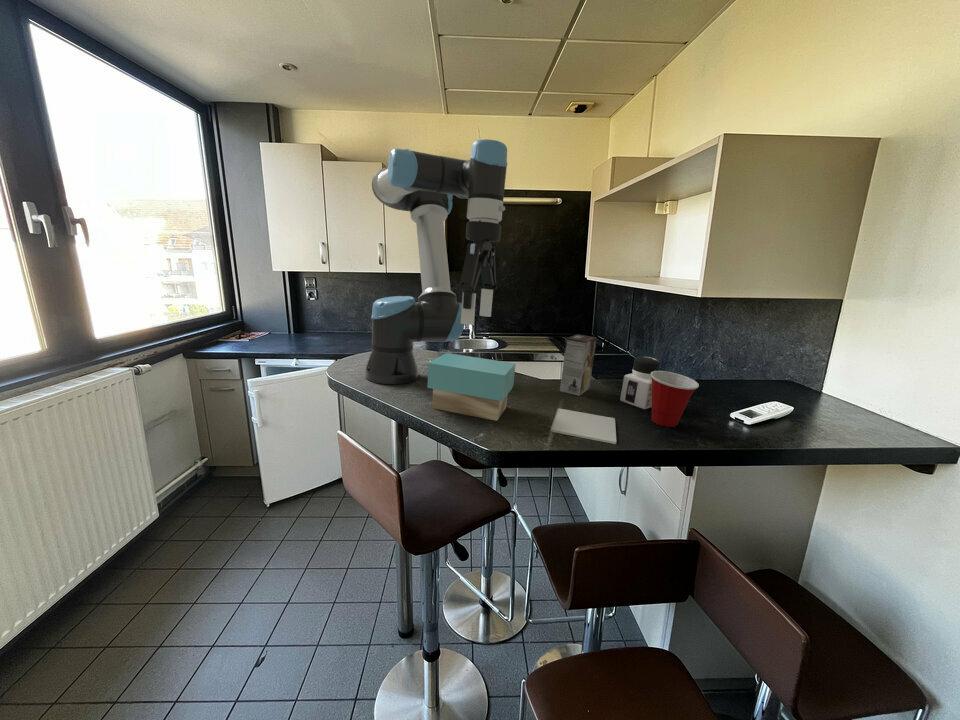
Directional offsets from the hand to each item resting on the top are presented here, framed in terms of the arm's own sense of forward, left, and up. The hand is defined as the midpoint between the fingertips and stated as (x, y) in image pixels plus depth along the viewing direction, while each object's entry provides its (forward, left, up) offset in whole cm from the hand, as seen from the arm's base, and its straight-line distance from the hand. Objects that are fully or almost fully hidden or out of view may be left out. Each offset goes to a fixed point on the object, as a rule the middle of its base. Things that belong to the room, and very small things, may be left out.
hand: (476, 320), depth 90 cm
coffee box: (-30, +23, -22) cm, 44 cm away
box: (0, 0, -22) cm, 22 cm away
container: (-28, +41, -22) cm, 54 cm away
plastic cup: (-15, +46, -22) cm, 53 cm away
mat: (-4, +23, -22) cm, 32 cm away
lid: (0, 0, -16) cm, 16 cm away
